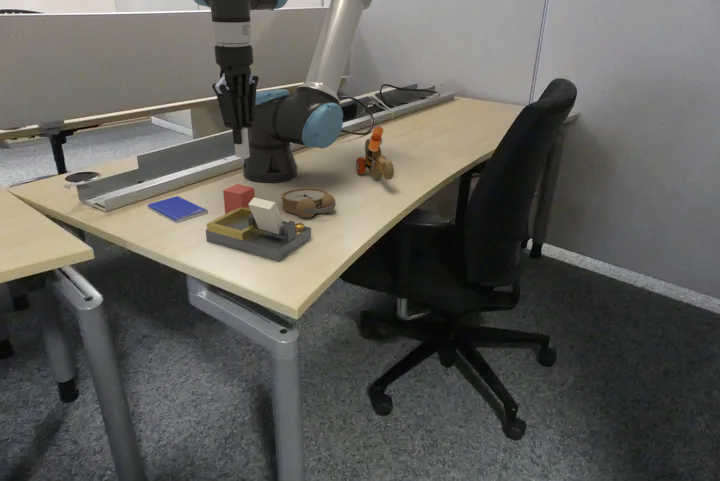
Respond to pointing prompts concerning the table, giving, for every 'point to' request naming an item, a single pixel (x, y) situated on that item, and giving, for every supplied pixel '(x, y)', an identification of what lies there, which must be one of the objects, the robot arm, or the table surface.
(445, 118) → the table surface
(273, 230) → the toggle
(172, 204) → the blue book
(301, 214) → the alarm clock
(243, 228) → the panel
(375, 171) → the wheeled toy
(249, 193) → the red toy cube
